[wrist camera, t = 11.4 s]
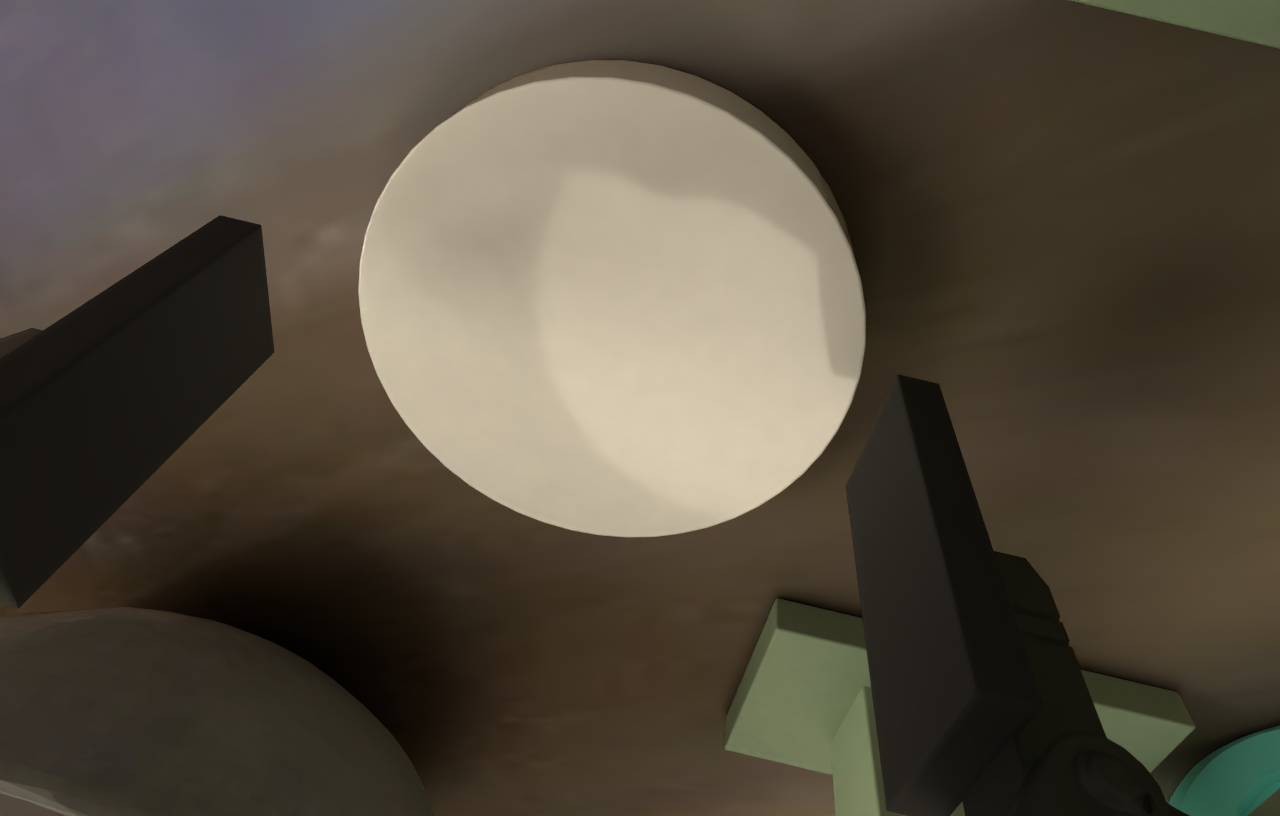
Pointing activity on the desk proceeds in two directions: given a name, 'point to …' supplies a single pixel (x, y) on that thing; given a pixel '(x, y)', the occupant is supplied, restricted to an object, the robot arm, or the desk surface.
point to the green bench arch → (835, 642)
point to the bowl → (183, 724)
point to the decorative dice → (1232, 777)
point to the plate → (614, 300)
